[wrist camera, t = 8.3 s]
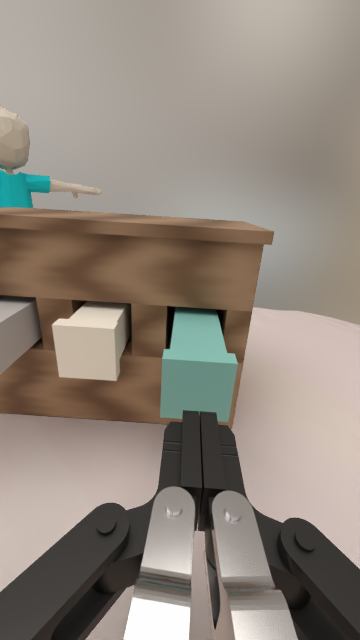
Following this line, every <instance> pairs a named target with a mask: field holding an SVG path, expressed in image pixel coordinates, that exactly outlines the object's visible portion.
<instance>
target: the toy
mask: <svg viewBox="0 0 360 640" xmlns="http://www.w3.org/2000/svg"><path fill="white" fill-rule="evenodd" d="M29 146H30V140H29V130H28V126H27V125H26V124H25V123H24V121H23V120H22V119H21V118H19V117H18V115H17V114H14V113H11V112H9V111H7V110H5V109H3V107H1V106H0V168H2V169H5V170H6V173H5V172H4V171H2V170H0V208H3V207H20V208H33V205H32V198H31V192H40V193H49V192H67V191H71V192H72V193H73V196H74V198H77V197H78V195H77V194H78V193H82V194H93V195H99V194H101V190H100V189H96V188H92V187H85V186H82V185H79V184H69V183H65V182H60V181H57V180H53V179H50V178H49V176H40V175H28V174H24V173H21V172H19V173H18V174H16V175H15V174H13V171H12V170H14V169H17V168H19V167H22V166H25V164H26V163H27V161H28V156H29Z"/></svg>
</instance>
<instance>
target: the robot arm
mask: <svg viewBox="0 0 360 640" xmlns="http://www.w3.org/2000/svg"><path fill="white" fill-rule="evenodd" d="M197 522H198V531H205V551H204V563H205V573H206V583H207V593H208V603H209V613H210V623H211V637H212V640H360V569H359V568H358V567H357V566H356V565H355V564H354V563H353V562H351V561H350V560H349V559H348V558H347V557H346V556H345V555H344V554H343V553H342V552H341V551H340V550H339V549H338V548H337V547H336V546H335V545H334V544H333V543H332V542H331V541H330V540H328V539H327V538H326V537H325V536H324V535H323V534H322V533H321V532H320V531H319V530H318V529H317V528H316V527H315V526H314V525H312V524H311V523H309V522H308V521H306V520H304V519H301V518H290V519H287V520H286V521H285V522H284V523H281V522H279V521H276V520H274V519H272V518H269V517H267V516H265V515H263V514H261V513H260V512H258V511H257V510H256V509H255V508H254V507H253V506H252V505H251V503H250V502H249V500H248V499H247V496H246V493H245V489H244V484H243V478H242V473H241V468H240V463H239V457H238V452H237V448H236V441H235V436H234V434H233V432H232V431H231V429H230V428H229V426H228V425H218V421H217V414H216V412H205V411H200V414H199V411H190V410H183V415H182V422H172V421H170V423H169V425H168V426H167V428H166V429H165V433H164V442H163V451H162V459H161V468H160V477H159V485H158V489H157V492H156V494H155V495H154V497H153V498H152V499H151V500H150V501H149V502H148V503H146V504H144V505H143V506H140V507H137V508H133V509H130V510H125V509H124V508H123V507H122V506H121V505H119V504H116V503H106V504H102V505H100V506H98V507H97V508H95V509H94V510H93V511H92V512H91V513H89V514H88V515H87V516H86V517H85V518H84V519H83V520H81V521H80V522H79V523H78V524H77V525H76V526H75V527H74V528H72V529H71V530H70V531H69V532H68V533H67V534H66V535H64V536H63V537H62V538H61V539H60V540H59V541H58V542H57V543H55V544H54V545H53V546H52V547H51V548H50V549H49V550H48V551H46V552H45V553H44V554H43V555H42V556H41V557H40V558H38V559H37V560H36V561H35V562H34V563H33V564H32V565H31V566H29V567H28V568H27V569H26V570H25V571H24V572H23V573H21V574H20V575H19V576H18V577H17V578H16V579H15V580H14V581H12V582H11V583H10V584H9V585H8V586H7V587H6V588H5V589H3V590H2V591H1V592H0V640H85V639H86V638H87V637H88V635H89V634H90V633H91V632H92V630H93V629H94V628H95V627H96V625H97V624H98V623H99V622H100V620H101V619H102V618H103V617H104V615H105V614H106V613H107V612H108V610H109V609H110V608H111V607H112V605H113V604H114V603H115V602H116V600H117V599H118V598H119V597H120V595H121V594H122V593H123V592H124V590H125V589H126V588H127V587H130V586H132V585H135V587H134V592H133V596H132V601H131V606H130V611H129V616H128V621H127V626H126V630H125V635H124V640H189V624H190V606H191V570H192V553H193V538H194V531H196V529H197Z"/></svg>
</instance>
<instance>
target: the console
mask: <svg viewBox="0 0 360 640" xmlns="http://www.w3.org/2000/svg"><path fill="white" fill-rule="evenodd" d="M273 235H274V232H273V231H270V230H267V229H264V228H261V227H258V226H255V225H252V224H249V223H246V222H242V221H226V220H210V219H194V218H178V217H177V218H176V217H162V216H146V215H131V214H115V213H98V212H82V211H67V210H66V211H65V210H51V209H35V208H20V207H3V208H0V295H7V296H23V297H36V301H37V308H38V314H39V320H40V326H41V333H42V338H40V339H39V340H38V341H37V342H36V343H35V344H34V345H33V346H32V347H30V348H29V349H28V350H27V351H26V352H25V353H24V354H23V355H22V356H20V357H19V358H18V359H17V360H16V361H15V362H14V363H13V364H12V365H10V366H9V367H8V368H7V369H6V370H5V371H4V372H3V373H2V374H0V413H11V414H26V415H40V416H55V417H70V418H84V419H99V420H114V421H128V422H143V423H157V424H169V423H170V421H172V422H182V419H176V418H161V417H160V406H161V379H162V357H163V352H164V349H170V345H171V338H172V331H173V323H174V316H175V308H176V307H191V308H206V309H216V311H217V315H218V319H219V322H220V326H221V330H222V334H223V338H224V342H225V346H226V350H227V353H233V354H235V356H236V359H237V362H238V366H237V372H236V378H235V384H234V390H233V396H232V402H231V408H230V414H229V420H228V422H220V421H218V425H228V426H229V428H231V429H232V424H233V418H234V412H235V406H236V401H237V395H238V389H239V383H240V378H241V372H242V366H243V361H244V355H245V349H246V343H247V338H248V332H249V326H250V320H251V315H252V309H253V302H254V298H255V292H256V286H257V280H258V275H259V269H260V263H261V257H262V252H263V246H264V244H269V245H271V244H272V241H273ZM87 301H99V302H114V303H130V304H131V315H132V333H131V335H130V337H129V339H128V342H127V344H126V346H125V348H124V351H123V353H122V355H121V357H120V373H119V376H118V378H117V381H110V380H95V379H80V378H65V377H59V372H58V365H57V358H56V351H55V344H54V337H53V330H52V324H53V323H54V322H56V321H57V320H58V319H59V318H60V319H69V318H70V317H71V316H72V315H73V314H74V313H75V312H76V311H77V310H78V309H80V308H81V307H82V306H83V305H84V304H85V303H86V302H87Z"/></svg>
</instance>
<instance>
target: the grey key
mask: <svg viewBox="0 0 360 640" xmlns="http://www.w3.org/2000/svg"><path fill="white" fill-rule="evenodd" d="M40 338H42V333H41V326H40V320H39V314H38V308H37V301H36V297H23V296H7V295H0V374H2V373H3V372H4V371H5V370H6V369H7V368H8V367H9V366H10V365H12V364H13V363H14V362H15V361H16V360H17V359H18V358H19V357H20V356H22V355H23V354H24V353H25V352H26V351H27V350H28V349H29V348H30V347H32V346H33V345H34V344H35V343H36V342H37V341H38V340H39V339H40Z"/></svg>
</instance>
